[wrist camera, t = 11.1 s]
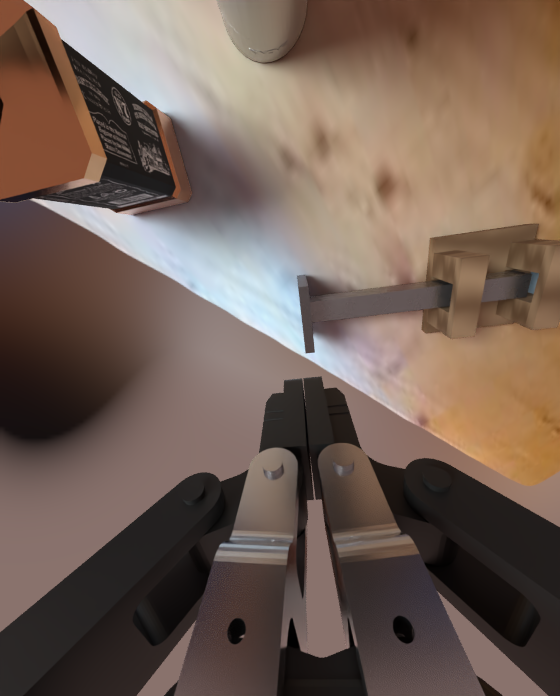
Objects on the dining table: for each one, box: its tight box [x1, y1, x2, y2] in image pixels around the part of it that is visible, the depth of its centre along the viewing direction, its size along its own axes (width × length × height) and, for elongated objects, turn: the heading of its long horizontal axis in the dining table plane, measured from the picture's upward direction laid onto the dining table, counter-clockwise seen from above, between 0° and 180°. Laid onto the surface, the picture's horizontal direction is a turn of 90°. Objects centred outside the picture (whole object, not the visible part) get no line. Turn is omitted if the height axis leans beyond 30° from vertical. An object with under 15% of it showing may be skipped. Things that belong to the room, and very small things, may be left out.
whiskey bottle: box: [0, 0, 192, 215], centre depth 20 cm, size 10×10×32 cm
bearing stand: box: [422, 224, 560, 339], centre depth 36 cm, size 14×13×8 cm
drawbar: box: [297, 270, 532, 353], centre depth 36 cm, size 9×30×8 cm, turn 98°
